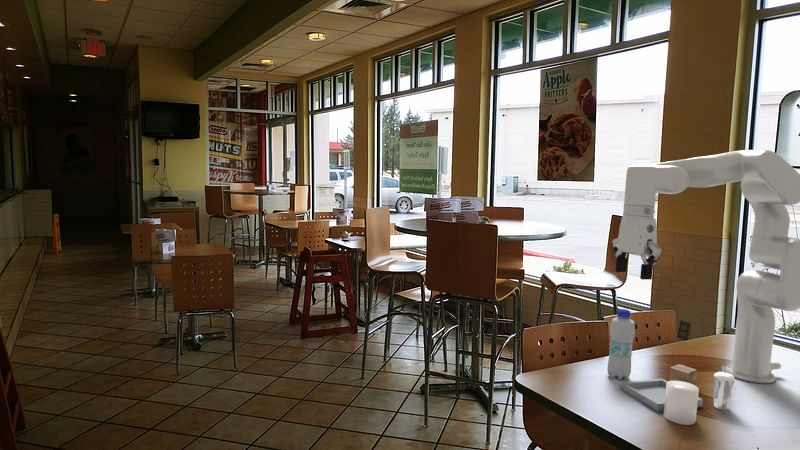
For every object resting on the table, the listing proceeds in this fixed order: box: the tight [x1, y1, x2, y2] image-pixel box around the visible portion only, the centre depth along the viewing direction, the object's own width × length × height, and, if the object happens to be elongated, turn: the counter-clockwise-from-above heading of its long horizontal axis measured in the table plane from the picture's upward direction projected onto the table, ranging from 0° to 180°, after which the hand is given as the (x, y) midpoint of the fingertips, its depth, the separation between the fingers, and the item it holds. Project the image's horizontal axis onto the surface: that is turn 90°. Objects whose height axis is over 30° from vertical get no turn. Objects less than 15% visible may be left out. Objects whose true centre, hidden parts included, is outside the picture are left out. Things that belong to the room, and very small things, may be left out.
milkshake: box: [713, 365, 736, 411], centre depth 142 cm, size 4×5×10 cm
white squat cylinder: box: [663, 380, 700, 426], centre depth 135 cm, size 7×7×8 cm
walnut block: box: [668, 363, 698, 386], centre depth 156 cm, size 5×5×5 cm
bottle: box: [606, 308, 636, 381], centre depth 160 cm, size 7×7×20 cm
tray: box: [619, 378, 704, 413], centre depth 147 cm, size 14×14×2 cm
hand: (633, 275), depth 150 cm, fingers open, 9 cm apart
